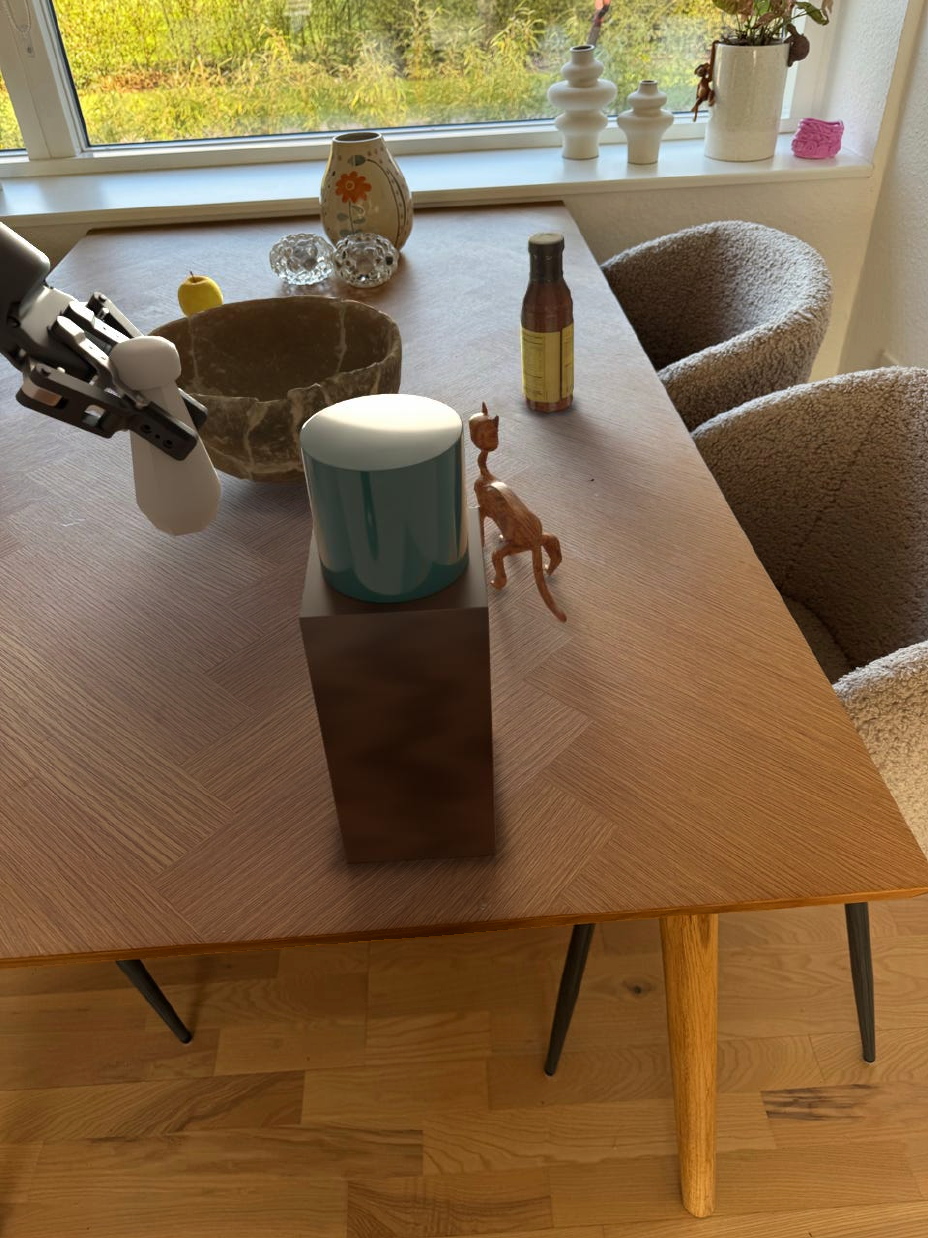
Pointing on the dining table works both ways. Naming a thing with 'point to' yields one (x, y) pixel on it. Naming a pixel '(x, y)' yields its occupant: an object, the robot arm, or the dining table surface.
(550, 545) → the cat figurine
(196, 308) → the apple
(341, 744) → the stand
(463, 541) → the white-topped teal cylinder
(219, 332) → the bowl
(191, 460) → the salt shaker
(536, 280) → the sauce bottle
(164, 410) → the robot arm
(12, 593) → the dining table surface
